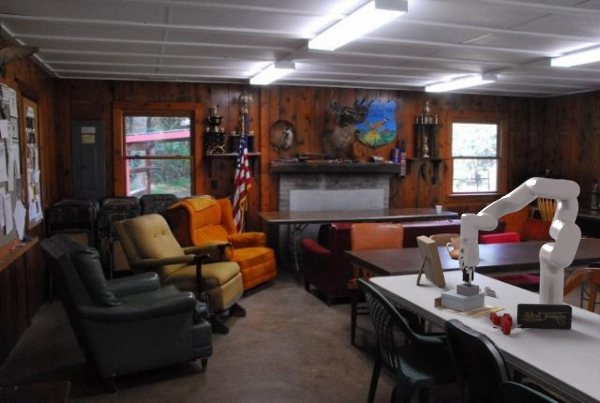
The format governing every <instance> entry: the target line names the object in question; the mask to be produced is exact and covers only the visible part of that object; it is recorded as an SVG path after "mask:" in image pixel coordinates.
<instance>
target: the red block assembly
mask: <svg viewBox="0 0 600 403" xmlns="http://www.w3.org/2000/svg"><path fill="white" fill-rule="evenodd" d="M489 320H490V321H491V322H492V324H493V325H492V328H493V329H498V330H500V331H501V333H502V334H503V335H510V334H511V332H512V327H511V326H513V317H512V316H511V314H510V313H503V315H498V314H497V313H496V312H495V313H490V314H489ZM497 326H500V327H497Z"/></svg>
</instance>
